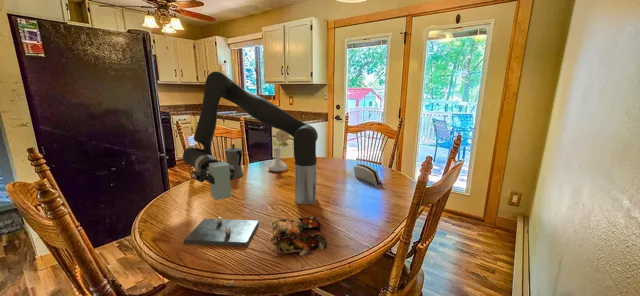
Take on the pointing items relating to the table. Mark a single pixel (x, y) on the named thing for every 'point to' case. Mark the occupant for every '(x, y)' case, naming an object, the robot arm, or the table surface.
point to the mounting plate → (222, 232)
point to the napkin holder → (366, 173)
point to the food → (297, 236)
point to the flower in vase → (278, 164)
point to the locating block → (220, 180)
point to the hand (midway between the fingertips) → (222, 179)
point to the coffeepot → (235, 159)
